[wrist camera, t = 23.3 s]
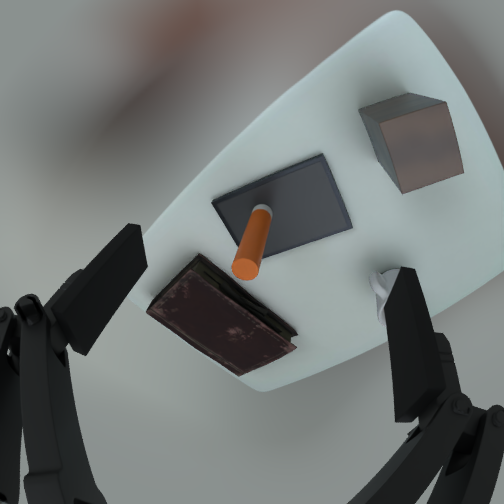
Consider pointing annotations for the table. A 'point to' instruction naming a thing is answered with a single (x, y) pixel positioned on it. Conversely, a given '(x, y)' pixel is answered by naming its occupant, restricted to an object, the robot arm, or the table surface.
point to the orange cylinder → (252, 243)
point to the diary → (221, 318)
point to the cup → (382, 289)
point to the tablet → (288, 206)
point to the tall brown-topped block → (413, 140)
